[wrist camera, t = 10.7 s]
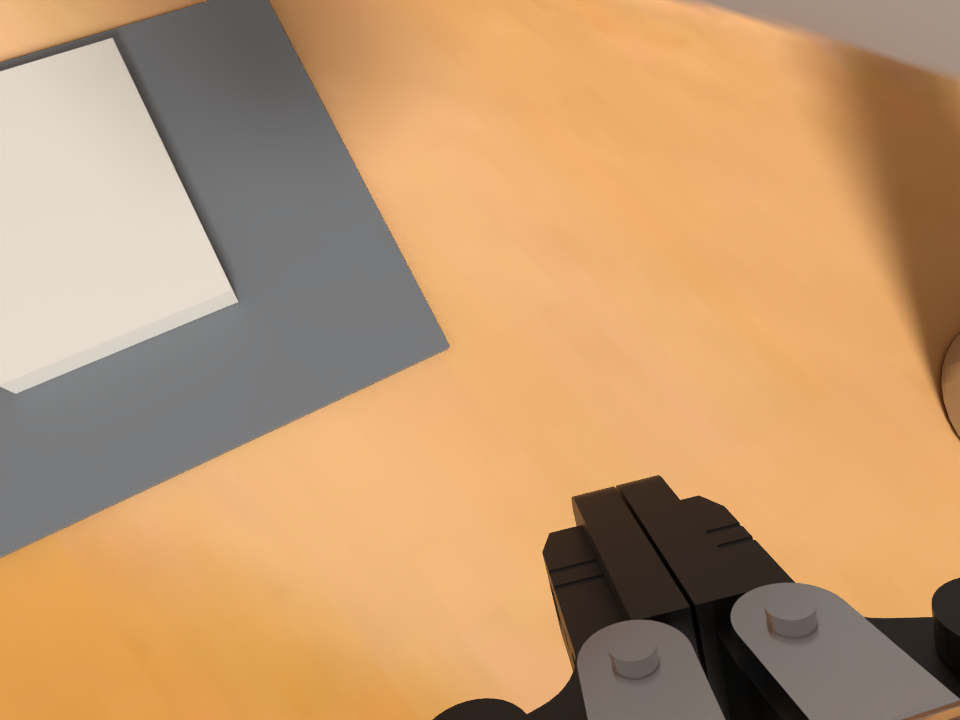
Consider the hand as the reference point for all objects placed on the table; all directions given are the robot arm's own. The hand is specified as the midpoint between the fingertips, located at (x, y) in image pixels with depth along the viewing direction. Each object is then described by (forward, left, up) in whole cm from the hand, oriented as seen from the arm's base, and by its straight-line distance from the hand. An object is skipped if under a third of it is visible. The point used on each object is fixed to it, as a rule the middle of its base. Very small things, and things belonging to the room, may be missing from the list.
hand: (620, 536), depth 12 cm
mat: (+7, -19, -22) cm, 30 cm away
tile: (+9, -15, -20) cm, 27 cm away
